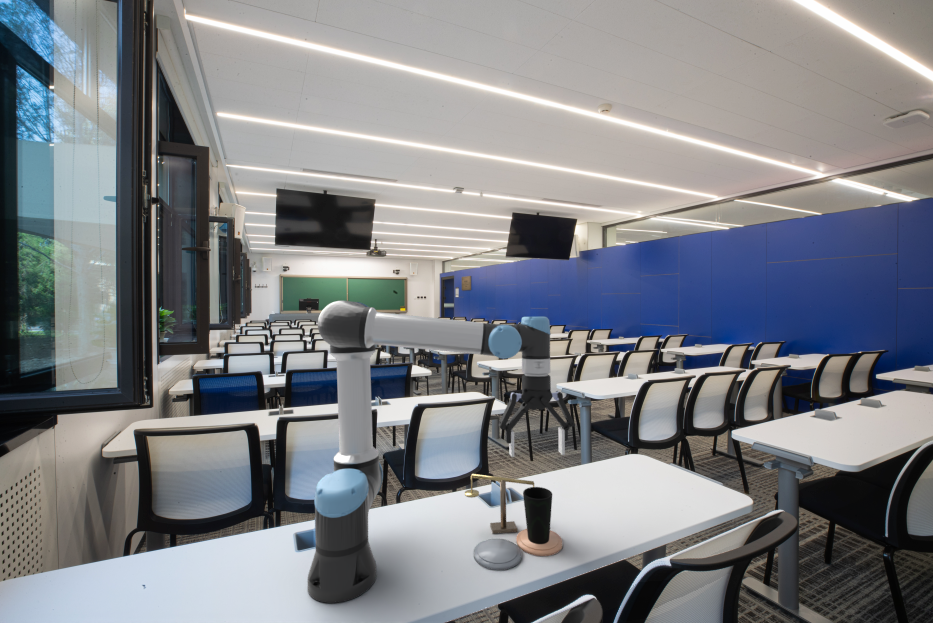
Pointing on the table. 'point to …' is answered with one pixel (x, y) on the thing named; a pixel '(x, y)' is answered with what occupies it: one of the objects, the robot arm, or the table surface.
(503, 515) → the balance
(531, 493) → the cup
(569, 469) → the table surface
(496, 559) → the dish near
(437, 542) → the table surface
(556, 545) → the dish far
